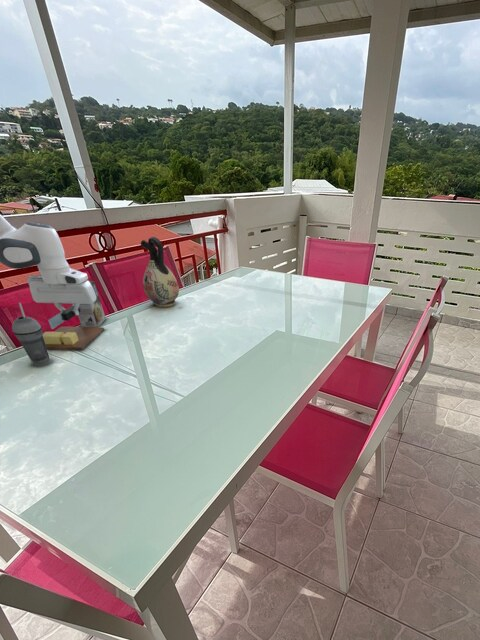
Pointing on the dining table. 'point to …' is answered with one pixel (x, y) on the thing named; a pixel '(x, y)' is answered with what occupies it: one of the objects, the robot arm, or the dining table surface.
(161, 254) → the ceramic jug
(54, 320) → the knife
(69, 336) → the butter slice
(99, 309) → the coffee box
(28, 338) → the beverage cup
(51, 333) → the butter block
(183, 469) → the dining table surface
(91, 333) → the cutting board
